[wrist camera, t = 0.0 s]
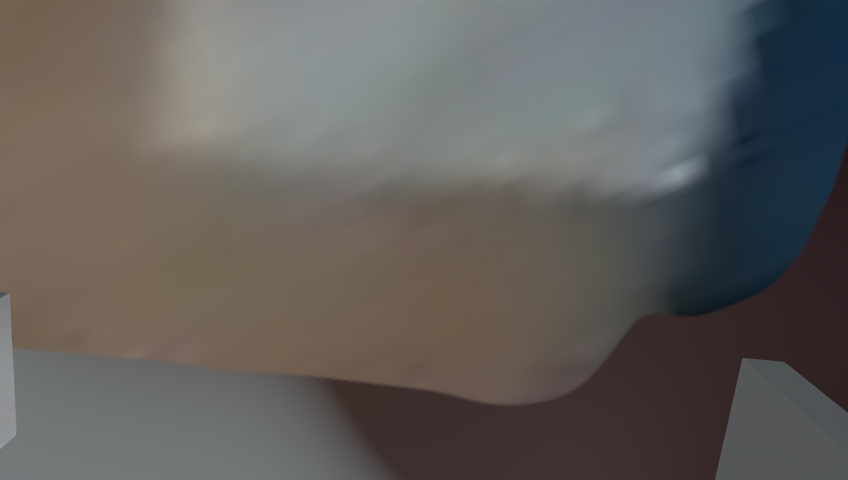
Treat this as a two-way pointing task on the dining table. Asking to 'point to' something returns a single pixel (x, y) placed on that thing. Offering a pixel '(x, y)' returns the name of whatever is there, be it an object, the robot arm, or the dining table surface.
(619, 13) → the dining table surface
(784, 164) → the dining table surface
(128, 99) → the dining table surface
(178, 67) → the dining table surface
